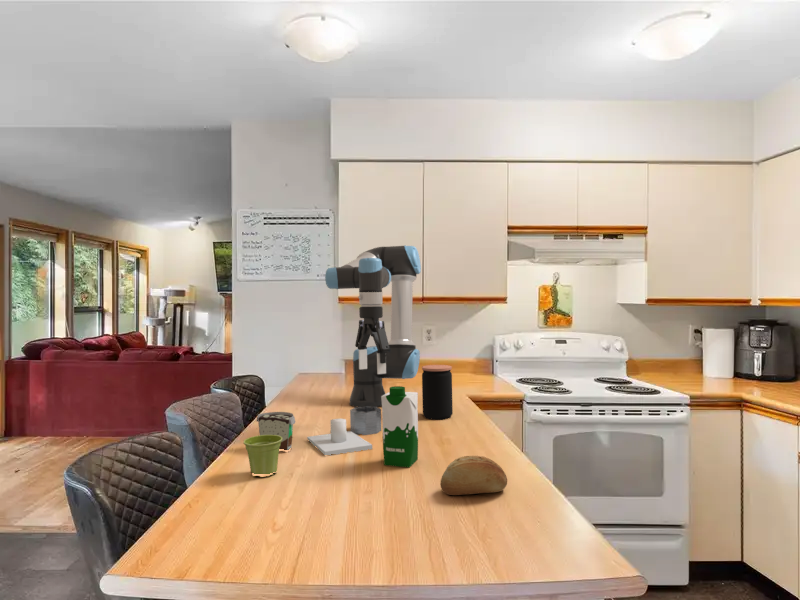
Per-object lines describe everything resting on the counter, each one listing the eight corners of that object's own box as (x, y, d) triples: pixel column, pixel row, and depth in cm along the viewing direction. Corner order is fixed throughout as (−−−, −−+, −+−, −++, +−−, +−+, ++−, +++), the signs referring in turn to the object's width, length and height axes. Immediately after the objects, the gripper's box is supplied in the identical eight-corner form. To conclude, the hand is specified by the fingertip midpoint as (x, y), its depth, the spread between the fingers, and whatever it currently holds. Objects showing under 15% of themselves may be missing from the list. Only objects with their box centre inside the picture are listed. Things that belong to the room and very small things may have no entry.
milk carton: (379, 466, 137) (377, 388, 137) (391, 456, 146) (390, 382, 146) (412, 469, 134) (410, 389, 134) (422, 458, 143) (420, 383, 143)
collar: (347, 429, 176) (347, 408, 176) (373, 426, 180) (373, 405, 180) (357, 436, 167) (357, 413, 167) (384, 432, 171) (384, 410, 171)
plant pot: (248, 483, 127) (247, 446, 126) (240, 472, 135) (240, 437, 135) (287, 476, 131) (286, 441, 131) (277, 466, 139) (276, 432, 139)
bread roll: (514, 498, 114) (514, 461, 114) (445, 503, 112) (445, 465, 112) (500, 483, 124) (500, 448, 124) (437, 487, 122) (436, 452, 122)
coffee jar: (452, 413, 197) (451, 364, 196) (452, 420, 186) (451, 368, 186) (423, 413, 198) (422, 364, 198) (421, 420, 187) (420, 368, 187)
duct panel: (307, 440, 163) (306, 417, 163) (350, 434, 169) (350, 412, 169) (325, 456, 147) (324, 430, 147) (372, 449, 153) (371, 423, 153)
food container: (304, 447, 156) (303, 413, 156) (291, 453, 150) (291, 417, 150) (270, 443, 161) (269, 410, 161) (257, 448, 156) (256, 414, 155)
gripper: (344, 305, 183) (346, 368, 183) (378, 306, 161) (379, 376, 161) (364, 305, 186) (365, 366, 186) (399, 305, 164) (401, 374, 165)
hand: (372, 371), depth 174 cm, fingers open, 13 cm apart
